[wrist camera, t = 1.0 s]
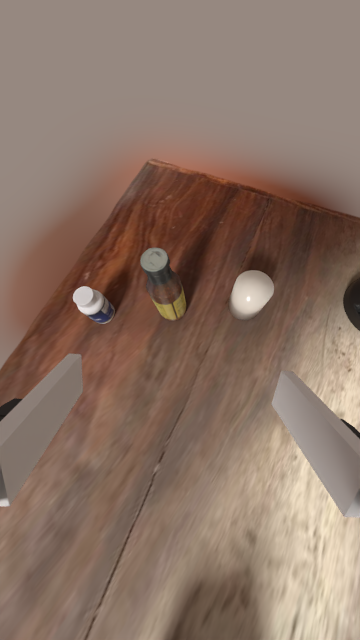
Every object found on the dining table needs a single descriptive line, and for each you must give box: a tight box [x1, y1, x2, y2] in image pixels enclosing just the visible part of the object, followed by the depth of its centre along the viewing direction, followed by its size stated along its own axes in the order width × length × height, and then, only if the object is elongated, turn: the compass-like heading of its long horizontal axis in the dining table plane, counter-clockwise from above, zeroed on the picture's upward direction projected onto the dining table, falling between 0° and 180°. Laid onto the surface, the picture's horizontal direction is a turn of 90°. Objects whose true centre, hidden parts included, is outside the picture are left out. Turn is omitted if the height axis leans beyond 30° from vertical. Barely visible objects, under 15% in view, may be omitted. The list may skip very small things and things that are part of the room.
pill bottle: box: [73, 286, 115, 324], centre depth 44 cm, size 5×5×10 cm
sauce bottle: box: [140, 248, 186, 321], centre depth 39 cm, size 6×6×20 cm
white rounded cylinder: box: [228, 270, 274, 320], centre depth 43 cm, size 7×7×9 cm
